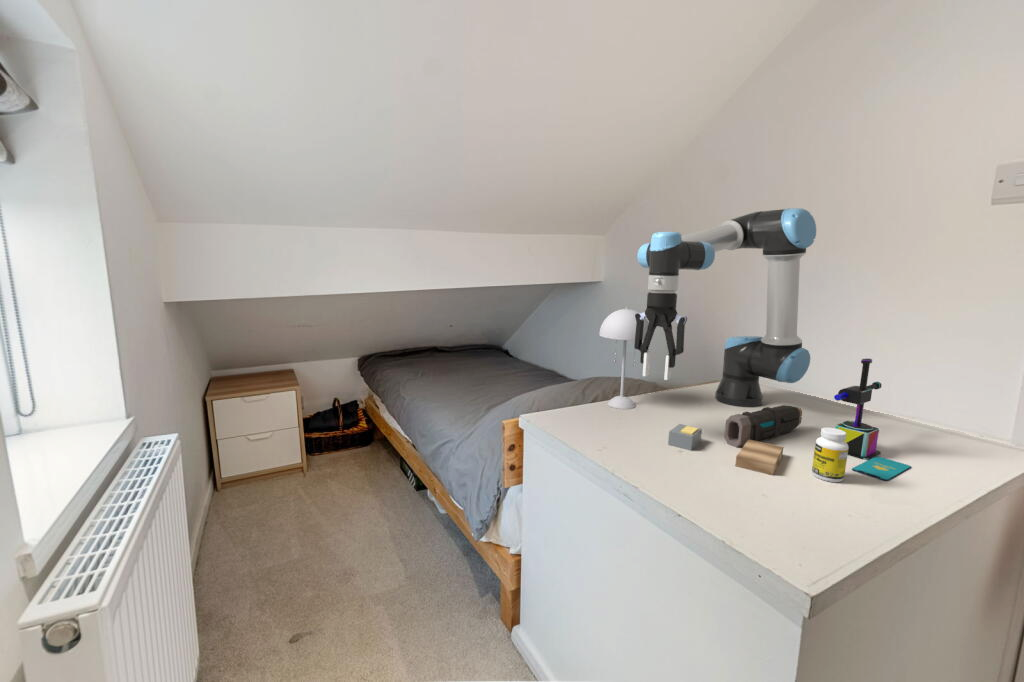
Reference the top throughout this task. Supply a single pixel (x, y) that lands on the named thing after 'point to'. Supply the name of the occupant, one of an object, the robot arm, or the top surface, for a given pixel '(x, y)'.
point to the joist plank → (759, 456)
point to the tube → (761, 424)
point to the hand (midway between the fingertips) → (656, 377)
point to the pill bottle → (830, 455)
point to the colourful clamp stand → (860, 417)
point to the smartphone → (881, 468)
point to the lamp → (624, 329)
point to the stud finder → (685, 437)
